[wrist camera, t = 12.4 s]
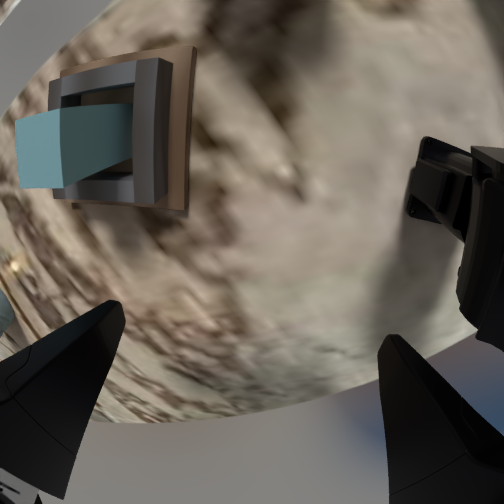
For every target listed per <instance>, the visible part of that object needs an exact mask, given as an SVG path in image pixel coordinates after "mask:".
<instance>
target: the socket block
mask: <svg viewBox="0 0 504 504" xmlns="http://www.w3.org/2000/svg"><path fill="white" fill-rule="evenodd" d="M196 52H197V49H196V48H195V47H194V46H183V47H171V48H162V49H154V50H146V51H140V52H134V53H128V54H123V55H118V56H113V57H109V58H104V59H100V60H96V61H92V62H88V63H85V64H81V65H78V66H74V67H71V68H68V69H65V70H62V71H60V78H59V79H56V80H53V81H50V82H49V94H48V111H52V110H56V109H60V108H68V107H78V106H89V105H103V104H128V103H133V130H132V154H133V157H132V158H130V159H127V160H125V161H122V162H120V163H117V164H115V165H112V166H110V167H108V168H105V169H103V170H101V171H99V172H96V173H94V174H92V175H90V176H88V177H85V178H83V179H81V180H79V181H77V182H75V183H73V184H71V185H69V186H67V187H65V188H52V190H53V197H54V199H64V202H72V203H92V204H108V205H123V206H137V207H150V208H163V209H174V210H185V209H186V208H187V207H188V179H189V146H190V125H191V109H192V95H193V83H194V72H195V62H196Z"/></svg>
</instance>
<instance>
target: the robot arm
mask: <svg viewBox="0 0 504 504" xmlns="http://www.w3.org/2000/svg"><path fill="white" fill-rule="evenodd" d="M428 140H429V142H430V144H429V145H427V141H428ZM410 192H411V194H410V198H409V201H408V205H407V209H406V211H407V214H408V215H409V216H410V217H413V218H417V219H422V220H426V221H431V222H435V223H439V224H443V225H444V226H445V227H446V228H447V229H449V230H450V231H451V232H452V233H453V234H454V235H455V236H456V237H458V238H459V239H460V240H461V241H462V242H463V243H464V244H465V245H464V251H463V256H462V261H461V266H460V267H459V269H458V280H457V286H456V294H457V297H458V300H459V303H460V307H459V310H460V312H461V313H462V314H463V316H464V317H465V318H466V319H467V321H469V322H470V323H471V324H472V325H473V326H474V327H475V328H477V329H478V331H477V333H476V335H475V338H476V339H477V340H480V341H483V342H486V343H489V344H492V345H494V346H495V347H497V348H499V349H500V350H502V351H503V352H504V148H495V147H483V146H471V153H469V152H466V151H464V150H462V149H459V148H457V147H455V146H452V145H450V144H447V143H445V142H442V141H440V140H437V139H435V138H432V137H429V136H425V137H423V139H422V142H421V148H420V153H419V158H418V160H417V161H416V166H415V171H414V175H413V179H412V184H411V188H410ZM413 208H414V212H412V213H411V210H412V209H413ZM125 323H126V320H125V316H124V312H123V308H122V304H121V303H120V302H119V301H115V300H108V301H106V302H104V303H102V304H101V305H99V306H97V307H95V308H93V309H92V310H90V311H88V312H86V313H85V314H83V315H81V316H79V317H77V318H76V319H74V320H72V321H70V322H69V323H67V324H65V325H64V326H62V327H60V328H58V329H57V330H55V331H53V332H51V333H50V334H48V335H46V336H45V337H43V338H41V339H40V340H38V341H36V342H34V343H33V344H32V345H29V346H28V347H26V348H24V349H23V350H21V351H19V352H17V353H16V354H14V355H12V356H10V357H8V358H6V359H4V360H2V361H0V504H42V502H41V499H40V497H39V495H38V491H39V490H42V491H44V492H46V493H48V494H50V495H52V496H55V497H57V498H60V499H62V500H63V499H64V496H65V493H66V489H67V486H68V482H69V479H70V475H71V472H72V468H73V466H74V462H75V459H76V455H77V453H78V449H79V447H80V444H81V441H82V438H83V435H84V432H85V429H86V427H87V424H88V421H89V419H90V416H91V414H92V411H93V408H94V406H95V403H96V401H97V398H98V396H99V393H100V391H101V389H102V386H103V384H104V381H105V379H106V377H107V374H108V372H109V370H110V368H111V365H112V363H113V360H114V357H115V354H116V351H117V348H118V345H119V342H120V339H121V336H122V333H123V330H124V327H125ZM377 358H378V371H379V389H380V399H381V405H382V413H383V421H384V429H385V438H386V449H387V461H388V477H389V504H504V436H503V435H502V434H501V433H500V432H499V431H497V430H496V429H495V428H494V427H493V426H492V425H491V424H489V423H488V422H487V421H486V420H485V419H484V418H483V417H482V416H481V415H480V414H479V413H478V412H476V411H475V410H474V409H473V408H472V407H471V406H470V405H469V404H468V402H467V401H466V400H465V399H464V398H463V397H461V395H460V394H459V393H458V392H457V391H456V390H455V389H454V388H453V387H452V386H451V385H450V384H449V383H448V382H447V381H446V380H445V379H444V378H443V377H442V376H441V375H440V374H439V373H438V372H437V371H436V370H435V369H434V368H433V367H432V366H431V365H430V364H429V363H428V362H427V361H426V360H425V359H424V358H423V357H422V356H421V355H420V354H419V353H418V352H417V351H416V350H415V349H414V348H412V347H411V346H410V345H409V344H408V343H407V342H406V341H405V340H404V339H403V338H402V337H401V336H400V335H398V334H388V335H387V336H386V338H385V339H384V341H383V343H382V345H381V347H380V348H379V351H378V355H377Z"/></svg>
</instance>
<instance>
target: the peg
mask: <svg viewBox="0 0 504 504" xmlns="http://www.w3.org/2000/svg"><path fill="white" fill-rule="evenodd" d="M132 130H133V103H128V104H103V105H89V106H78V107H68V108H60V109H56V110H52V111H48V112H44V113H40V114H36V115H33V116H29V117H26V118H23V119H19V120H16V121H15V131H16V153H17V165H18V174H19V182H20V188H65V187H67V186H69V185H71V184H73V183H75V182H77V181H79V180H81V179H83V178H85V177H88V176H90V175H92V174H94V173H96V172H99V171H101V170H103V169H105V168H108V167H110V166H112V165H115V164H117V163H120V162H122V161H125V160H127V159H130V158H132V157H133V154H132Z"/></svg>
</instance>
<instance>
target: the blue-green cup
mask: <svg viewBox="0 0 504 504" xmlns="http://www.w3.org/2000/svg"><path fill="white" fill-rule="evenodd" d="M13 320H14V311H13V308H12V306H11V304H10V302H9V300H8V299H7V297H6V296H5V294H4V293H3V291H2V290H1V289H0V338H1V336H2V334H3V332H4V331H5V330H6V329H7V327H8V326H9V325H10V324H11V322H12V321H13Z"/></svg>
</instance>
